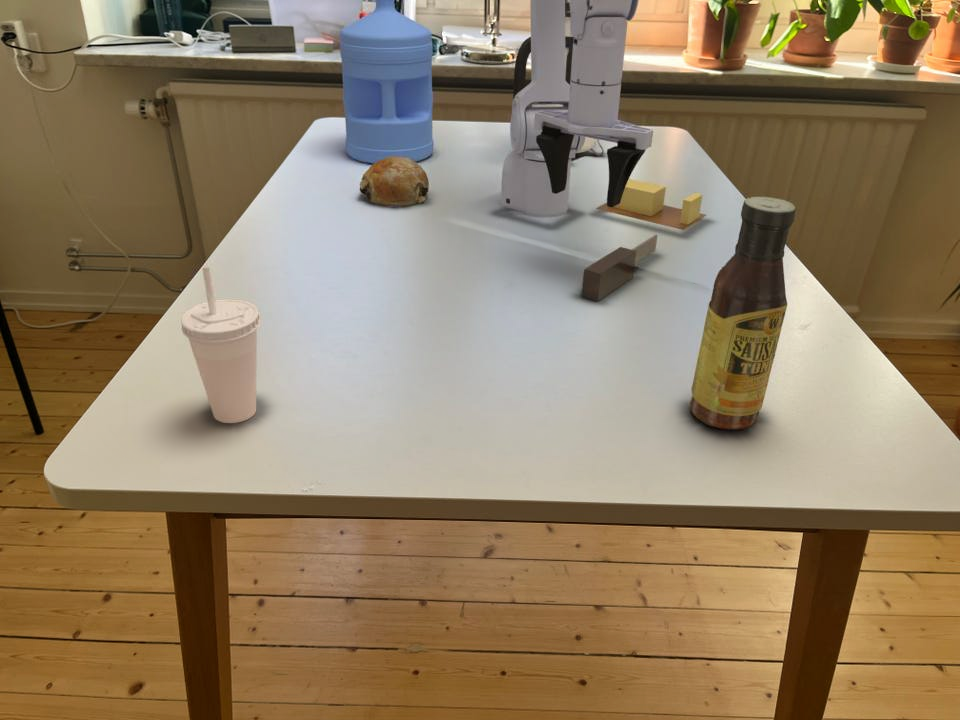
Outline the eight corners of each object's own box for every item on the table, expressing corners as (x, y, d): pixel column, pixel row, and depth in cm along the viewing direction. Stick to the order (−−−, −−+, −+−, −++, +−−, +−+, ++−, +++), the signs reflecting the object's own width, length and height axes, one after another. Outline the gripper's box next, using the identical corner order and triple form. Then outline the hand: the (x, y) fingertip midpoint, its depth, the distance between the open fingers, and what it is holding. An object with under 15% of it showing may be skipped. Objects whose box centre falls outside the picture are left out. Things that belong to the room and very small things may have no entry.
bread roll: (406, 232, 123) (428, 187, 119) (346, 198, 122) (365, 152, 118) (423, 211, 131) (444, 168, 127) (367, 179, 131) (386, 135, 127)
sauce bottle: (720, 441, 71) (764, 222, 61) (673, 406, 75) (707, 197, 66) (776, 422, 73) (826, 210, 64) (727, 389, 78) (767, 187, 68)
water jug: (347, 142, 153) (337, -22, 140) (431, 142, 155) (429, -21, 141) (344, 166, 140) (333, -13, 126) (436, 165, 141) (435, -12, 128)
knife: (581, 296, 96) (583, 269, 94) (646, 254, 108) (649, 228, 106) (597, 301, 95) (600, 273, 93) (661, 258, 107) (664, 232, 105)
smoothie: (205, 393, 76) (181, 252, 69) (276, 391, 76) (259, 251, 69) (190, 433, 70) (162, 283, 63) (266, 430, 71) (246, 282, 64)
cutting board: (594, 214, 121) (595, 208, 120) (620, 201, 127) (621, 195, 126) (682, 236, 114) (683, 229, 113) (705, 221, 119) (706, 214, 119)
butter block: (608, 206, 121) (610, 183, 120) (620, 199, 124) (623, 177, 122) (650, 216, 118) (653, 193, 116) (663, 209, 121) (666, 186, 119)
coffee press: (519, 141, 157) (527, -32, 142) (603, 145, 155) (620, -29, 140) (510, 166, 142) (517, -24, 127) (602, 171, 140) (621, -21, 125)
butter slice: (679, 223, 116) (683, 199, 114) (691, 216, 118) (694, 192, 117) (687, 225, 115) (691, 201, 113) (699, 217, 118) (702, 194, 116)
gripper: (522, 77, 93) (517, 193, 99) (637, 96, 85) (623, 220, 92) (555, 69, 98) (548, 180, 104) (666, 85, 90) (651, 204, 97)
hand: (585, 198), depth 98 cm, fingers open, 7 cm apart
